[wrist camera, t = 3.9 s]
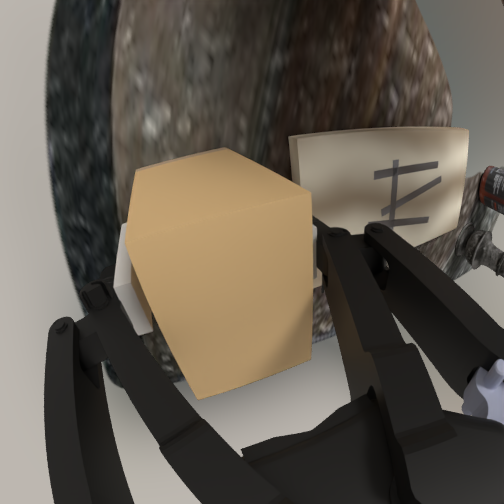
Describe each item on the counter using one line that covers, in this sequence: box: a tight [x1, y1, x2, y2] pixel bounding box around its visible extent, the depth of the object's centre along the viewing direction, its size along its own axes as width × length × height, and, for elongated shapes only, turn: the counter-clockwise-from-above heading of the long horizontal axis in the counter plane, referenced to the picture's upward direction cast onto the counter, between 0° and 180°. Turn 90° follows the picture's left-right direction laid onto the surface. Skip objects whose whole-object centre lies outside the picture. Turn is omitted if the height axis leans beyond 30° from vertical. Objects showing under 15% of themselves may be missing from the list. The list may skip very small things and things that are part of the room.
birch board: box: [288, 127, 469, 288], centre depth 23 cm, size 12×22×1 cm, turn 97°
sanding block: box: [125, 147, 313, 400], centre depth 14 cm, size 8×6×10 cm
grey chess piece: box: [455, 223, 504, 277], centre depth 27 cm, size 6×6×12 cm
